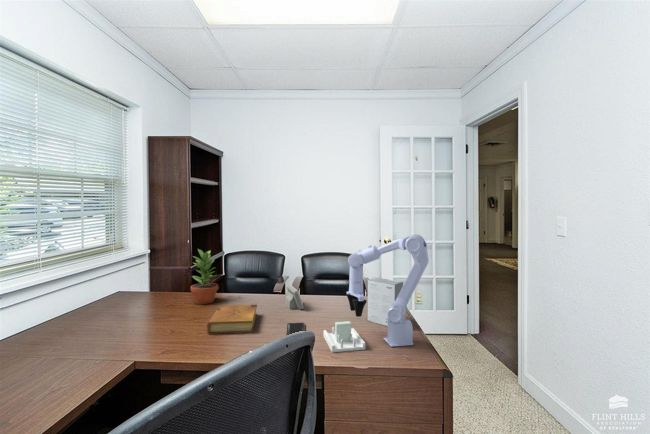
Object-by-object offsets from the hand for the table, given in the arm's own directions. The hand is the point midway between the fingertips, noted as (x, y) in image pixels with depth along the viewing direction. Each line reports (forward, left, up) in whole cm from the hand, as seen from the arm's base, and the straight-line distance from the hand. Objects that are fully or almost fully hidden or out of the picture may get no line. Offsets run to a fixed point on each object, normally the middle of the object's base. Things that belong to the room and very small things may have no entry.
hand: (355, 313), depth 139 cm
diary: (+51, -24, -10) cm, 57 cm away
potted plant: (+69, -63, -10) cm, 94 cm away
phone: (+24, -10, -10) cm, 28 cm away
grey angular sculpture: (+20, -45, -10) cm, 50 cm away
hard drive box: (-18, -12, -10) cm, 24 cm away
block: (+7, +6, -8) cm, 13 cm away
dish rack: (+7, +6, -9) cm, 13 cm away
